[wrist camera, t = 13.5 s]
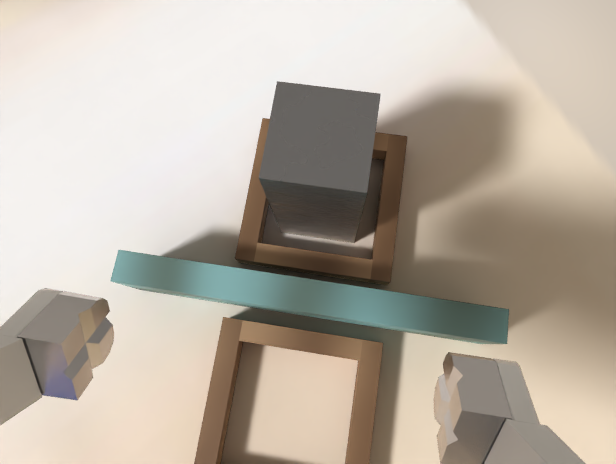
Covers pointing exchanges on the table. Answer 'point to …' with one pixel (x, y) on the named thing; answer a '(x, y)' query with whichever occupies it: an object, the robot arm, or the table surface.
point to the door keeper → (310, 302)
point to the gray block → (319, 159)
